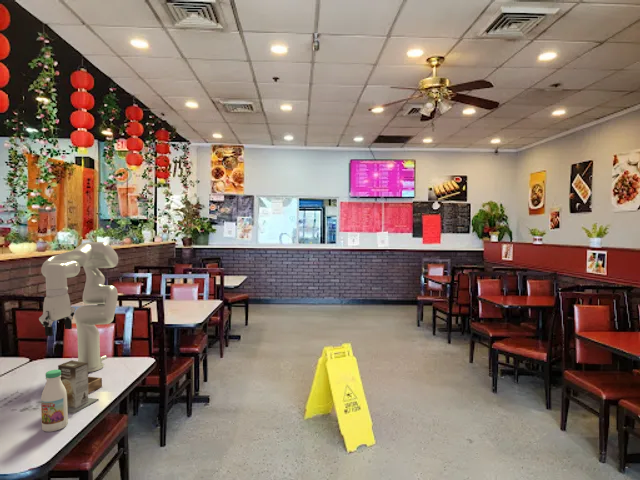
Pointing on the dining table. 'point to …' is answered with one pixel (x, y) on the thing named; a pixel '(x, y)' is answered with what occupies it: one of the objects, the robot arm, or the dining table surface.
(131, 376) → the dining table surface
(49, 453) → the dining table surface
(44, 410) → the milk bottle
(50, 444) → the dining table surface
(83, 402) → the coffee box
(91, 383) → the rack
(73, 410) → the mat
